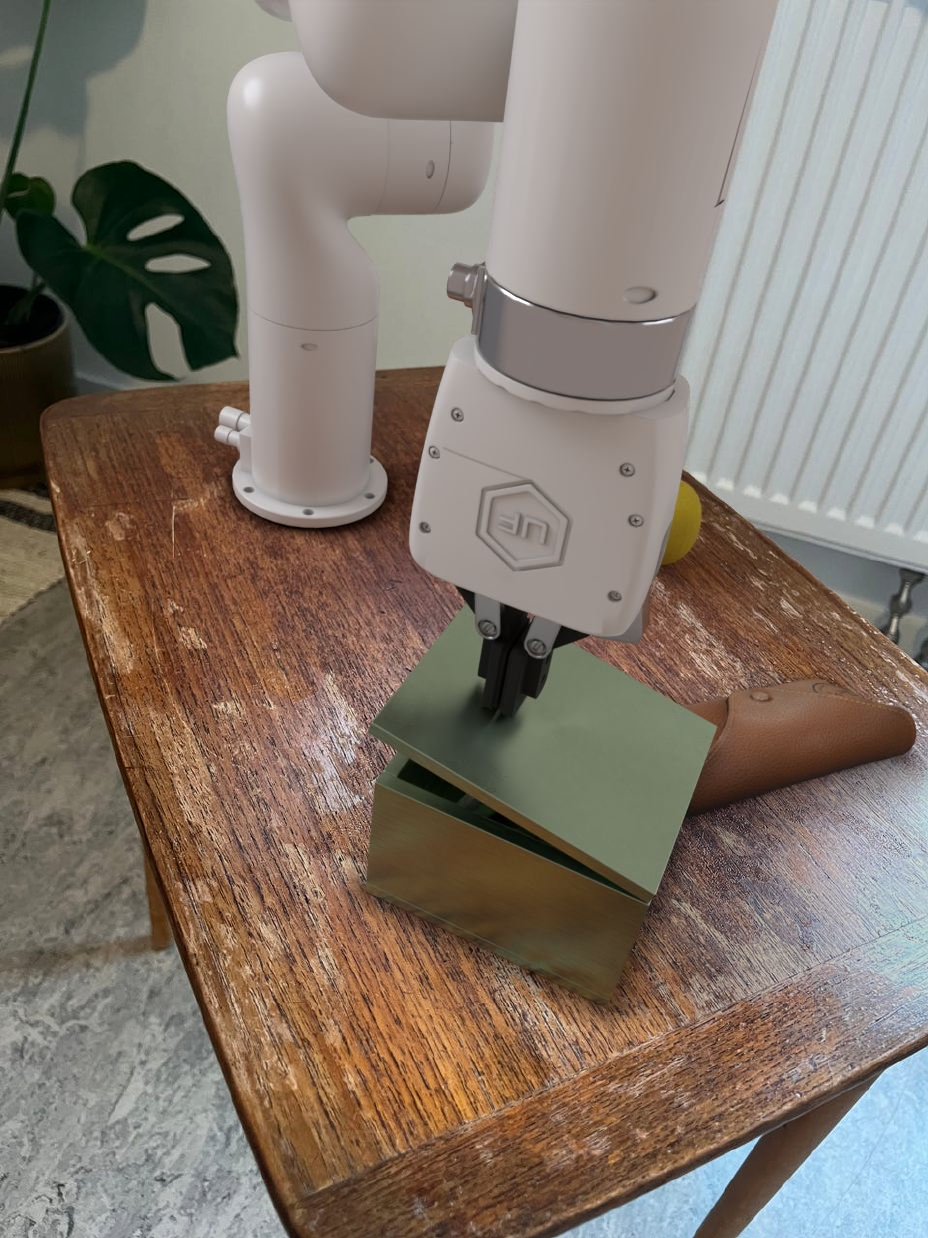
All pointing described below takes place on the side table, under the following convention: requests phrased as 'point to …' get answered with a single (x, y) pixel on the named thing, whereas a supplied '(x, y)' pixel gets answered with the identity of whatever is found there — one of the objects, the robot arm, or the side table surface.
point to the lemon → (683, 524)
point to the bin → (497, 883)
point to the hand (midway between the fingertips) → (508, 694)
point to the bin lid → (558, 753)
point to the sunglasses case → (792, 739)
